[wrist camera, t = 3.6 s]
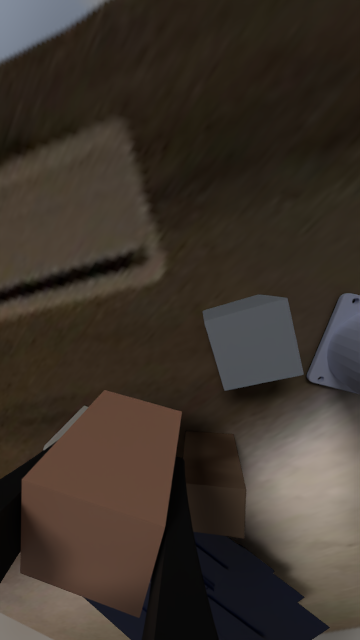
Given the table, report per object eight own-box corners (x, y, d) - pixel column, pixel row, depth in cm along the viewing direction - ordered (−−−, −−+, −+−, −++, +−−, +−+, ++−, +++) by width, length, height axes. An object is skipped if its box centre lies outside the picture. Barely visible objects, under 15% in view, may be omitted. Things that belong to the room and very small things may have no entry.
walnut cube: (233, 433, 18) (246, 489, 13) (232, 472, 18) (244, 538, 14) (185, 430, 18) (180, 483, 13) (187, 468, 19) (182, 530, 14)
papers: (213, 662, 24) (212, 726, 20) (51, 524, 28) (26, 558, 24) (325, 571, 18) (350, 637, 15) (103, 416, 22) (81, 438, 19)
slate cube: (258, 294, 15) (287, 297, 10) (270, 346, 15) (303, 374, 10) (202, 310, 15) (203, 321, 11) (217, 359, 16) (224, 390, 11)
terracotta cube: (182, 411, 10) (165, 527, 5) (165, 474, 11) (139, 618, 6) (104, 390, 10) (21, 479, 6) (96, 452, 12) (20, 572, 7)
